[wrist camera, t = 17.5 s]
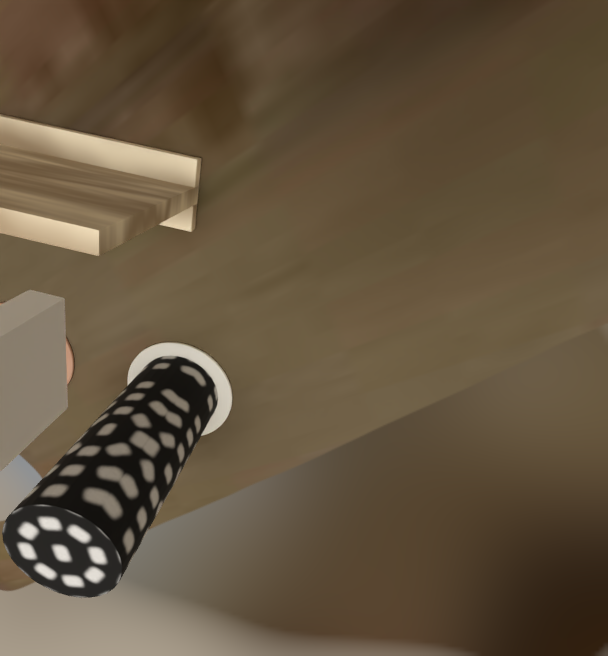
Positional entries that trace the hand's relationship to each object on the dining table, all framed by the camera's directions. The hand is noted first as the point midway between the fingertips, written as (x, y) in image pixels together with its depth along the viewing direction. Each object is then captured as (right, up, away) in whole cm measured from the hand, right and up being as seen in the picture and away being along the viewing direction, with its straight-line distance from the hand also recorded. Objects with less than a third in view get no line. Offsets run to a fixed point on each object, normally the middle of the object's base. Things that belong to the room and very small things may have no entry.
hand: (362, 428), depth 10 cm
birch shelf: (-19, +15, +33) cm, 41 cm away
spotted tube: (-14, -4, +41) cm, 43 cm away
